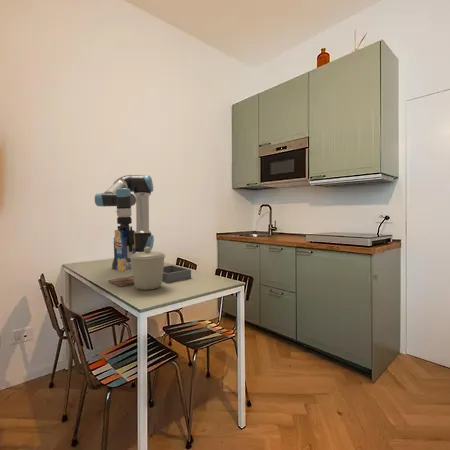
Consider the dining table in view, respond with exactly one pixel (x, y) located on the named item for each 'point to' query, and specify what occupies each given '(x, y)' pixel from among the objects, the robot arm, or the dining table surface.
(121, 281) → the walnut board
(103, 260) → the dining table surface
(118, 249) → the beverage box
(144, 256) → the canister
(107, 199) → the robot arm
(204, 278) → the dining table surface
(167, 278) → the grey bin
